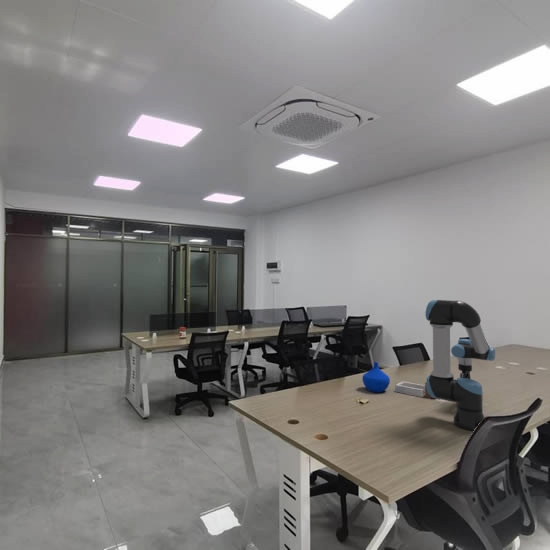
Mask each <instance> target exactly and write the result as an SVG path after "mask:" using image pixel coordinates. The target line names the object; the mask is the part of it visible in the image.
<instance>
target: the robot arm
mask: <svg viewBox="0 0 550 550" xmlns="http://www.w3.org/2000/svg"><path fill="white" fill-rule="evenodd" d="M426 305H427V306H426V308H425V319H426V320H427V321H428V322H429V326H431V328H432V358H433V359H432V367H433V368H432V369H433V370H432V371H431V372H430V373H429V375H427V377H426V381H425V383H426V387H427V391H428V393H429V395H430V396H431V397H434V398H437V399H436V400H442V401H447V402H452V403H455V404H456V405H457V406H456V411H455V414H454V416H453V424H454V425H455V426H456V427H458V428H461V429H462V430H466V429H467V431H471V430H473V432H475V431H474V429H475V428H476V427H477V426H478V424H479V423H480V422H481V421H482V420H483V419H484V418H485V415H484V413H483V411H484V410H483V407H484V405H483V404H484V403H483V399H484V398H483V395H484V394H483V393H484V392H483V386H482V384H481V383H480V382H479V381H477V380H474V379H472V378H471V372H472V371H473V365H472V364H473V359H474V360H475V359H476V360H482V361H489V362H490V361H491V362H493V361H494V360H495V359H496V349H495V348H493V347H490V346H489V345H488V342H487V339H486V336H485V333H484V332H483V331H484V330H483V328H482V325H481V317H480V314H479V313H478V311H477V310H476V309H475V308H474V307H473V306H472V305H471V304H468V302H467V303H466V302H464V301H462V300H448V299H447V300H443V299H436V300H435V299H432V300H430V301H429V302H428V303H427V304H426ZM454 323H458V324H461V326H463V327H464V328H465V331H466V333H467V336H468V339H467V338H459V339H458V341H457V344H455V345H453V346H452V347H451V328H452V327H453V325H454ZM451 355H452V356H453V357H455V358H457V360H458V364H457V366H458V367H457V368H458V371H461V373H459V377H457V379H455V378H454V374H453V373H452V371H451ZM434 398H433V399H434Z"/></svg>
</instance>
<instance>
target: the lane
mask: <svg viewBox="0 0 550 550" xmlns="http://www.w3.org/2000/svg"><path fill="white" fill-rule="evenodd" d="M394 389H395V390H394V391H395V392H396V393H400V394H406V395H409V396H410V395H411V396H416V397H420V398H424V397H425V384H418V383H414V382H409V381H401V382H399V383H397V384H395V388H394Z"/></svg>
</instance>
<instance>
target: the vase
mask: <svg viewBox="0 0 550 550" xmlns="http://www.w3.org/2000/svg"><path fill="white" fill-rule="evenodd" d="M390 381H391V380H390V376H389V375H387V374H386V373H385V372H384V371H382V370H381V369H380V368H379V362H377V361H376V362H373V367H372V368H370V370H368V371H367V372H366V373H363V375H362V383H363V384H364V385H363V386H364V387H365V388H366V389H367V390H368V391H370V392H372V393H383V392H385V391H386V389H388V387H389V386H390V383H391V382H390Z"/></svg>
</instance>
